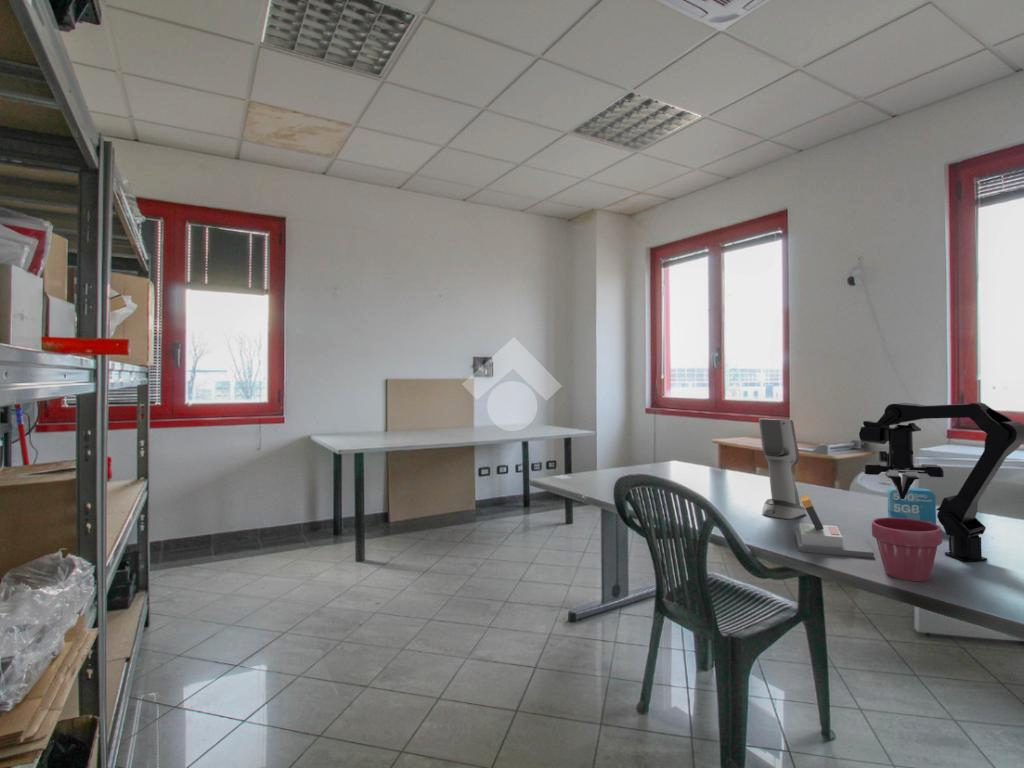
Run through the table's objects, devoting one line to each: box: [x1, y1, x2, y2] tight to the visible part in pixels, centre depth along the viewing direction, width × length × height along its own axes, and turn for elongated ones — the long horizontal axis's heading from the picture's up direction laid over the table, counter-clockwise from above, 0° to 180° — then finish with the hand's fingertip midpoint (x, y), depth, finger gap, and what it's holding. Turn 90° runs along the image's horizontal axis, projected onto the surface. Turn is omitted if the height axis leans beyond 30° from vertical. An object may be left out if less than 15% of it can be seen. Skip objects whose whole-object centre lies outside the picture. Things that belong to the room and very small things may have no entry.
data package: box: [886, 486, 937, 525], centre depth 175 cm, size 12×4×12 cm, turn 64°
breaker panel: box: [794, 523, 875, 559], centre depth 157 cm, size 18×16×5 cm
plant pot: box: [871, 517, 943, 582], centre depth 134 cm, size 14×14×13 cm
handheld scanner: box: [758, 417, 807, 520], centre depth 194 cm, size 12×13×35 cm
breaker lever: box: [799, 494, 824, 531], centre depth 159 cm, size 2×7×9 cm, turn 154°
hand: (902, 498), depth 158 cm, fingers closed
